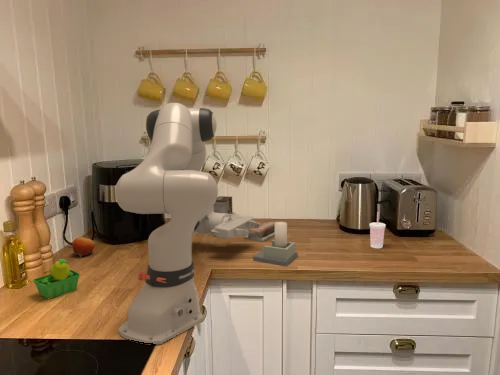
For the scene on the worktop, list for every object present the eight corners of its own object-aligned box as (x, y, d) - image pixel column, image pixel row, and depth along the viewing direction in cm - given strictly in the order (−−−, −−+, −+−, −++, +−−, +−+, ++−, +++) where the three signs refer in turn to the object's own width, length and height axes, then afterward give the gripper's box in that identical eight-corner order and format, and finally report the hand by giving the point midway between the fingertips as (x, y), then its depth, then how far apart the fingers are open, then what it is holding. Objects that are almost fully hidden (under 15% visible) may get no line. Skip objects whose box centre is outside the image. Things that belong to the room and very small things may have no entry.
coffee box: (219, 230, 192) (218, 195, 189) (233, 231, 190) (232, 196, 187) (213, 236, 183) (212, 200, 180) (228, 237, 181) (227, 200, 178)
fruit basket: (70, 283, 135) (66, 249, 133) (84, 290, 130) (81, 255, 128) (33, 295, 127) (29, 259, 125) (47, 303, 121) (43, 266, 119)
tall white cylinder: (284, 257, 151) (284, 225, 148) (272, 256, 153) (272, 224, 150) (288, 254, 154) (288, 222, 152) (277, 252, 156) (277, 221, 154)
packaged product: (263, 231, 173) (243, 228, 178) (263, 243, 174) (243, 239, 179) (284, 221, 188) (265, 219, 193) (284, 232, 189) (265, 229, 194)
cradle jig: (286, 266, 147) (286, 250, 146) (253, 260, 153) (253, 245, 152) (297, 256, 157) (297, 242, 156) (266, 251, 162) (266, 237, 161)
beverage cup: (382, 244, 169) (384, 210, 166) (386, 249, 163) (387, 213, 160) (367, 243, 169) (368, 209, 167) (370, 248, 163) (371, 213, 161)
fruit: (63, 254, 159) (71, 233, 161) (79, 258, 165) (86, 239, 168) (78, 257, 155) (86, 236, 157) (94, 261, 162) (101, 241, 164)
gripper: (207, 223, 154) (240, 227, 147) (234, 211, 171) (265, 214, 165) (207, 240, 155) (240, 245, 148) (234, 226, 173) (265, 230, 166)
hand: (253, 228), depth 157 cm, fingers open, 8 cm apart
